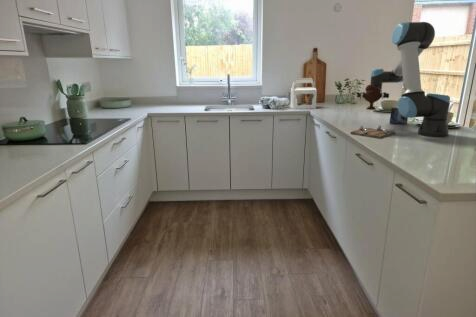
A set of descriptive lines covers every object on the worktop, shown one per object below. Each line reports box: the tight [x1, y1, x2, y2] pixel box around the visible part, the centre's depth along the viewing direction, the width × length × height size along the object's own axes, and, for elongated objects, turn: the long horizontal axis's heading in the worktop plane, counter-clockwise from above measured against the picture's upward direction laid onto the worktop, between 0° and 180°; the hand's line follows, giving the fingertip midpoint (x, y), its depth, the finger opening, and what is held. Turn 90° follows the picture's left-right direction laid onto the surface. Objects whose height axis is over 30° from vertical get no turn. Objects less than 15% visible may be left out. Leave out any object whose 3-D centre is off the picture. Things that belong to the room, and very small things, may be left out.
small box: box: [389, 107, 409, 125], centre depth 218 cm, size 11×6×10 cm, turn 68°
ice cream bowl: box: [363, 83, 382, 111], centre depth 197 cm, size 11×11×15 cm
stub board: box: [350, 125, 396, 139], centre depth 191 cm, size 18×18×4 cm
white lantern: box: [289, 77, 318, 110], centre depth 303 cm, size 22×13×28 cm, turn 92°
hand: (371, 96), depth 193 cm, fingers closed on ice cream bowl, 11 cm apart
